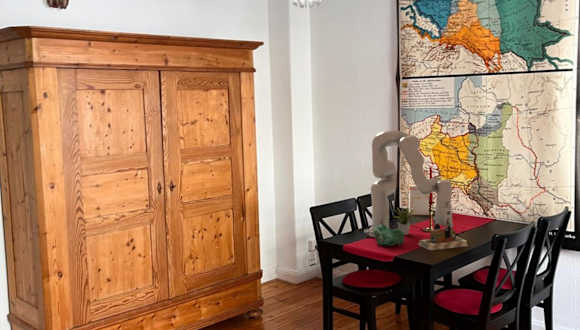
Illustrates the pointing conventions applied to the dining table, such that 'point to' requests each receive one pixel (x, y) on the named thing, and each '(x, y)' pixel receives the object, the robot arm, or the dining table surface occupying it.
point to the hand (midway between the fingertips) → (442, 235)
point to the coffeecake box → (418, 201)
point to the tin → (441, 236)
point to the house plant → (404, 220)
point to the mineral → (388, 236)
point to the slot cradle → (443, 244)
